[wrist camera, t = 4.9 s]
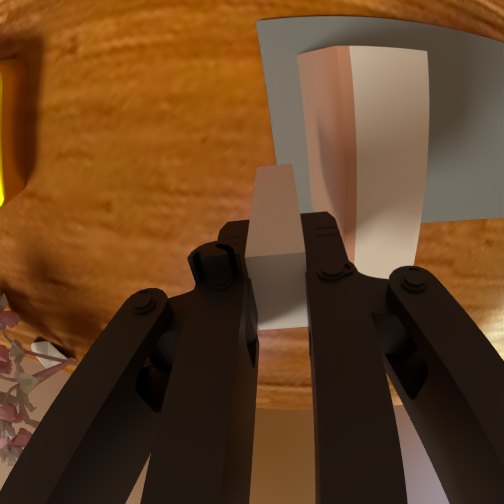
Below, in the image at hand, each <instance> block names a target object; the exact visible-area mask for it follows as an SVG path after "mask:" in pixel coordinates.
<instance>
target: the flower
mask: <svg viewBox="0 0 504 504" xmlns="http://www.w3.org/2000/svg"><path fill="white" fill-rule="evenodd" d="M7 305H8V301H7V298H6V296H5V294H4V293H3V296H2V295H1V297H0V330H2V331H3V334H4V337H5V338H6V339H7V340H8V341H9V342H10V343H12V347H11V348H10V349H9V350H7V348H6V347H5V345H0V373H5V374H10V372H11V370H12V368H11V367H12V363H11V360H10V359H9V352H10V356H11V357H16V358H15V360H14V362H15V364H16V370H17V372H15V378H6V377H4V376H3V375H1V374H0V378H2V379H6V380H9V381H12V382H19V383H18V384H17V385H15V386H13V387H11V388H10V389H9V391H8V392H7V393H5V392H0V405H2V406H1V407H0V444H1V445H4V447H3V448H1V449H0V459H1V460H2V462H5V460H7V462H8V466H10V465H12V463H11V461H12V462H13V464H14V465H15V463H16V462H17V460H18V458H19V456H20V455H21V453H22V451H23V449H22V448H20V447H25V446H26V445H27V443H28V441H29V440H30V438H31V436H32V435H33V434H31V433H30V432H29V431H27V430H26V429H24V428H20V429H19V432H18V435H16V434H15V429H14V428H13V427H12V422H13V423H20V422H22V421H23V420H24V422H25V423H26V424H29V425H31V426H32V427H34V428H37V427H38V425H39V423H40V422H38V421H35V420H31V419H30V418H29V416H28V414H27V411H26V409H25V407H24V405H25V406H26V407H27V408H28V410H29V411H30V412H33V410H35V409H36V407H33V406H32V404H31V403H29V400H28V393H29V392H30V391H31V390H33V389H34V388H35V387H36V386H37V385H38V384H39V383H41V382H42V381H44V380H45V379H47V378H49V377H50V376H52V375H53V374H55V373H56V372H58V371H60V370H61V369H63V368H64V367H66V366H67V365H69V364H72V365H77V362H78V361H72V360H73V359H68V358H66V357H65V356H64V355H62V354H61V353H60V352H58V351H57V349H56V348H55V347H54V346H53V345H52V344H51V343H50V342H48V341H41V342H35V343H32V345H31V349H32V351H33V352H31V351H27V350H25V349H24V348H22V345H21V343H20V342H19V341H17V340H16V339H15V340H14V341H12V340H10V339H9V338H8V337H7V335H6V333H5V332H4V330H3V329H4V328H6V324H7V325H8V326H9V327H10V328H12V327H14V326H15V324H16V325H18V323H19V321H20V319H19V316H18V314H17V313H15V312H13V311H4V309H5V308H6V306H7ZM25 354H29V355H33V356H36V357H37V358H38V359H39V361H40V362H41V363H42V364H43V365H44V367H45V368H48V369H45V370H43V371H41V372H38V373H36V374H34V375H29V374H25V372H24V370H23V368H22V367H21V365H20V363H21V361H22V360H23V358H24V357H25ZM16 388H17V397H15V396H12V395H10V393H11V392H12V391H13V390H15V389H16ZM14 403H15V404H14ZM18 403H19V414H18V413H17V409H16V407H17V405H18ZM13 404H14V405H13ZM8 421H9V422H8Z"/></svg>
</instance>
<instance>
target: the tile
mask: <svg viewBox="0 0 504 504" xmlns="http://www.w3.org/2000/svg"><path fill="white" fill-rule="evenodd" d="M297 61H298V68H299V76H300V84H301V92H302V101H303V110H304V120H305V130H306V140H307V151H308V163H309V176H310V190H311V202H312V206H313V210H314V212H324V211H327V212H328V213H330V214H331V215H332V216H333V217H335V219H336V222H337V225H338V228H339V231H340V235H341V237H342V240H343V243H344V246H345V249H346V253H347V256H348V259H349V261H350V262H352V263H353V264H354V265H355V266H356V268H357V270H358V272H360V273H362V274H364V275H367V276H371V277H376V278H384V279H389V275H390V274H391V273H392V271H393V270H395V269H397V268H399V267H401V266H409V265H410V266H413V264H414V259H415V254H416V248H417V242H418V236H419V230H420V224H421V217H422V209H423V201H424V193H425V183H426V172H427V159H428V142H429V74H428V58H427V51H421V50H413V49H403V48H391V47H374V46H333V47H328V48H323V49H319V50H315V51H310V52H306V53H302V54H298V55H297Z"/></svg>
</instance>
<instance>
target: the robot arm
mask: <svg viewBox="0 0 504 504" xmlns="http://www.w3.org/2000/svg"><path fill="white" fill-rule="evenodd" d="M187 259H188V262H189V265H190V268H191V271H192V274H193V277H194V280H195V283H196V284H195V288H194V290H192V291H190V292H187V293H185V294H181V295H178V296H175V297H171V298H168V297H167V295H166V294H165V292H164V291H163V290H160V289H157V288H147V289H143V290H140V291H138V292H136V293H135V294H133V295H131V296H130V297H129V298H128V299H127V300H126V301H125V302H124V304H123V305H122V306H121V308H120V309H119V310H118V312H117V313H116V314H115V316H114V317H113V318H112V320H111V321H110V322H109V323H108V325H107V326H106V328H105V329H104V330H103V332H102V333H101V334H100V336H99V337H98V338H97V340H96V341H95V342H94V344H93V345H92V347H91V348H90V349H89V351H88V352H87V354H86V355H85V356H84V358H83V359H82V361H81V362H80V363H79V365H78V366H77V368H76V369H75V371H74V372H73V373H72V375H71V376H70V378H69V379H68V381H67V382H66V384H65V385H64V387H63V388H62V390H61V391H60V393H59V394H58V396H57V397H56V399H55V400H54V402H53V403H52V405H51V406H50V408H49V409H48V411H47V412H46V414H45V416H44V417H43V419H42V420H41V422H40V423H39V425H38V427H37V428H36V430H35V432H34V433H33V435H32V436H31V438H30V440H29V441H28V443H27V445H26V446H25V448H24V450H23V451H22V453H21V455H20V456H19V458H18V460H17V462H16V463H15V465H14V467H13V469H12V471H11V472H10V474H9V476H8V478H7V480H6V481H5V483H4V485H3V487H2V489H1V491H0V504H125V503H126V501H127V499H128V497H129V495H130V493H131V491H132V489H133V487H134V485H135V483H136V481H137V479H138V477H139V475H140V473H141V471H142V469H143V467H144V465H145V463H146V461H147V459H148V457H149V455H150V454H151V456H150V460H149V465H148V470H147V474H146V479H145V483H144V488H143V493H142V498H141V503H140V504H249V496H250V483H251V469H252V455H253V440H254V424H255V409H256V392H257V376H258V359H259V340H258V335H257V325H259V329H260V330H263V329H279V328H293V327H306V326H308V328H309V356H310V363H311V378H312V396H313V416H314V443H315V491H316V492H315V495H316V496H315V497H316V499H315V500H316V501H315V502H316V503H315V504H408V503H407V494H406V484H405V476H404V469H403V462H402V455H401V448H400V442H399V436H398V431H397V425H396V419H395V414H394V409H393V404H392V399H391V394H390V389H389V385H388V380H387V376H386V373H387V375H388V377H389V378H390V380H391V382H392V384H393V386H394V388H395V390H396V392H397V394H398V396H399V397H400V399H401V401H402V403H403V405H404V407H405V409H406V411H407V413H408V415H409V417H410V419H411V421H412V423H413V425H414V427H415V429H416V431H417V433H418V435H419V437H420V439H421V441H422V444H423V446H424V448H425V450H426V452H427V454H428V456H429V458H430V460H431V462H432V464H433V467H434V469H435V471H436V473H437V475H438V478H439V480H440V482H441V485H442V487H443V489H444V491H445V494H446V496H447V498H448V500H449V503H450V504H504V361H503V359H502V358H501V356H500V355H499V354H498V352H497V351H496V350H495V348H494V347H493V346H492V344H491V343H490V342H489V340H488V339H487V338H486V337H485V335H484V334H483V333H482V331H481V330H480V329H479V328H478V326H477V325H476V324H475V323H474V321H473V320H472V319H471V318H470V316H469V315H468V314H467V313H466V312H465V310H464V309H463V308H462V307H461V306H460V304H459V303H458V302H457V301H456V300H455V299H454V297H453V296H452V295H451V294H450V293H449V292H448V291H447V289H446V288H445V287H444V286H443V285H442V284H441V283H440V282H439V280H438V279H437V278H436V277H435V276H434V275H433V274H432V273H430V272H429V271H428V270H426V269H423V268H421V267H418V266H410V265H409V266H401V267H399V268H397V269H395V270H393V271H392V273H391V274H390V275H389V279H384V278H376V277H371V276H367V275H364V274H362V273H360V272H358V270H357V268H356V266H355V265H354V264H353V263H352V262H350V261H349V259H348V256H347V253H346V249H345V246H344V243H343V240H342V237H341V235H340V231H339V228H338V225H337V222H336V219H335V217H333V216H332V215H331V214H330V213H328V212H327V211H324V212H312V213H301V214H300V211H299V204H298V198H297V192H296V185H295V179H294V173H293V168H292V164H283V165H273V166H264V167H257V172H256V179H255V186H254V193H253V201H252V208H251V215H250V220H241V221H231V222H227V223H226V224H225V225H224V226H223V227H222V228H221V230H220V232H219V235H218V240H217V241H214V242H209V243H206V244H204V245H201V246H199V247H197V248H196V249H195V250H193V251H192V252H191V253H190V255H189V256H188V258H187ZM146 360H147V361H146Z"/></svg>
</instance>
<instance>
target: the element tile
mask: <svg viewBox="0 0 504 504" xmlns="http://www.w3.org/2000/svg"><path fill="white" fill-rule="evenodd" d="M27 87H28V70H27V66H26V64H25V63H24V62H23V61H21V60H19V59H7V60H0V208H2V207H3V206H5V205H6V204H7V203H8V202H9V201H11V200H12V199H13V198H14V197H16V196H17V195H18V194H19V193H21V192H22V191H23V190H24V188H25V185H26V165H25V117H26V99H27Z"/></svg>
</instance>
